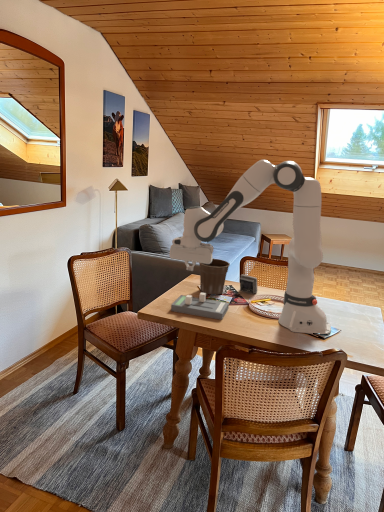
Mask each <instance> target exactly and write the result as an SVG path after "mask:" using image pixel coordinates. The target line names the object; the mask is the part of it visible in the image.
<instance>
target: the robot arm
mask: <svg viewBox="0 0 384 512" xmlns="http://www.w3.org/2000/svg"><path fill="white" fill-rule="evenodd" d="M272 184H276V186H277V187H279V188H280V189H282V190H286V191H288V192H292V193H293V206H292V207H293V208H292V209H293V211H292V226H293V227H292V228H293V237H292V238H291V239H290V241H289V243H288V260H287V261H288V262H287V263H288V264H287V271H288V272H287V282H286V289H285V291H284V294H283V306H282V310H281V313H280V315H279V319H277V320H278V323H279V324H280V325H281V326H283V327H284V328H287V329H288V330H289V331H291V332H293V333H302V334H311V335H314V334H313V333H320V334H328V333H330V334H331V332H332V326H331V324H330V322H328V320H327V316H326V313H325V311H324V310H323V309H322V308H320V307H319V306H318V305H317V304H318V300H317V297H316V295H313V290H314V283H315V274H314V273H315V272H314V268H317V267H318V266H320V264H321V263H322V261H323V259H324V257H323V256H324V255H323V248H322V247H323V246H322V244H323V242H322V231H321V216H322V202H323V201H322V188H321V187H322V186H321V183H320V181H319V180H318V179H316V178H313V177H306V176H304V174H303V171H302V167H301V166H300V165H299V164H298V163H297V162H295V161H293V160H285V161H282V162H280V163H278V164H275V165H274V164H273V163H271V162H270V161H268V160H267V159H260V160H258V161H256V162H255V163H254V164H253V165H251V166H250V167H249V168H248V169H247V170H246V171H244V172H243V174H242V175H241V176H240V177H239V178H238V180H237V181H236V182H235V184H234V185H233V187H232V188H231V190H230V191H229V193H228V194H227V196H226V197H225V198H224V200H222V201H221V203H220V204H219V205H218V206H216V208H214V210H213V211H212V212H211V213H210V212H209V211H208V210H205V209H204V208H205V207H202V206H200V205H195V206H189V207H187V208H186V210H184V211H185V212H184V217H183V224H182V225H183V232H182V235H181V236H177V237H175V238H173V239H172V240H171V242H172V244H171V245H170V248H169V255H168V256H169V258H170V259H172V260H178V261H183V262H184V264H185V266H186V269H185V270H187V271H190V272H193V271H194V267H195V265H196V264H197V263H198V264H199V263H204V264H210V263H211V262H212V259H213V252H214V250H215V249H214V246H213V245H212V244H211V243H209V242H211V241H213V240H214V239H215V238H216V237H218V236H219V235H221V233H222V232H223V231H224V227H225V224H224V222H225V221H226V220H228V218H229V217H230V216H231V215H232V214H233V213H235V212H236V211H237V210H239V209H240V208H242V207H244V206H246V205H249V203H251V202H253V201H254V200H255V199H257V198H258V197H259V196H260V195H261V194H262V193H263V192H264V191H265V189H267V188H268V187H269V186H270V185H272ZM189 262H191V264H192V265H190V264H189ZM320 334H319V335H320ZM328 335H329V334H328Z"/></svg>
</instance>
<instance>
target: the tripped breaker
mask: <svg viewBox="0 0 384 512" xmlns="http://www.w3.org/2000/svg"><path fill="white" fill-rule="evenodd" d="M198 298H199V301H200V302H205V300H206V299H207V294H206V293H204V292H201V291H200V293H199V297H198Z"/></svg>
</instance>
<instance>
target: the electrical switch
mask: <svg viewBox="0 0 384 512" xmlns="http://www.w3.org/2000/svg"><path fill="white" fill-rule="evenodd" d="M239 291H241V292H243V293H248V294H251V295H254V294H255V293H257V292H258V278H257V277H255V276H251V275H247V274H244V273H243V274H241V275H240V278H239Z"/></svg>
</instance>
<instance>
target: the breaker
mask: <svg viewBox="0 0 384 512" xmlns="http://www.w3.org/2000/svg"><path fill="white" fill-rule="evenodd" d="M185 296H186V299H185V304H188V305H190V304H191V303H192V297H193V295H191V294H187V295H185Z"/></svg>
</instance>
